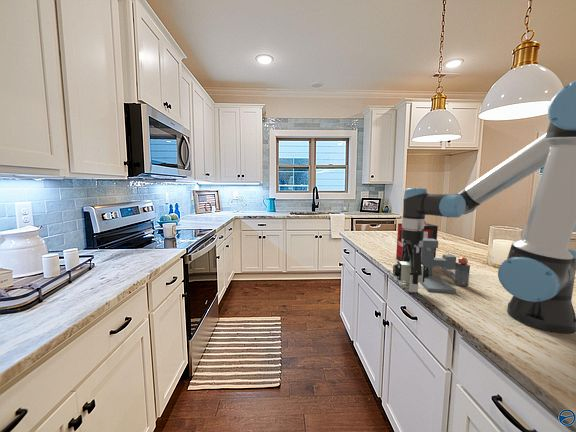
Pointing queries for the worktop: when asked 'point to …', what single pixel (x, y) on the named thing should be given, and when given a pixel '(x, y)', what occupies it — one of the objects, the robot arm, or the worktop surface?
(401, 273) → the pneumatic valve
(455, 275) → the lever
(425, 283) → the press
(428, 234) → the cleaning product box
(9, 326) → the worktop surface
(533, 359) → the worktop surface
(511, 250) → the robot arm
